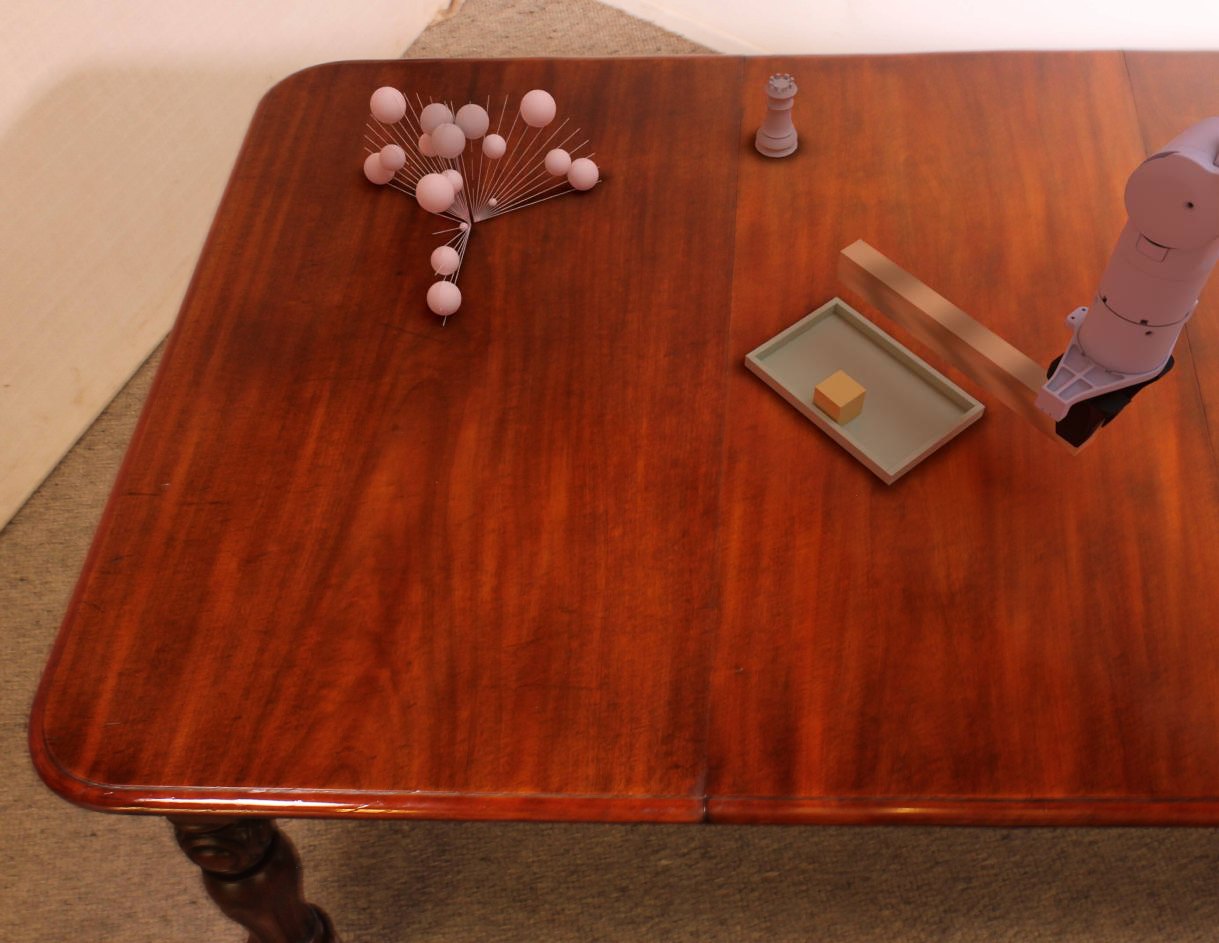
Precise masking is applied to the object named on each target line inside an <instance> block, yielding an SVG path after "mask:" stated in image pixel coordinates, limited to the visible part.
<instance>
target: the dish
mask: <svg viewBox="0 0 1219 943" xmlns="http://www.w3.org/2000/svg"><path fill="white" fill-rule="evenodd" d="M744 366H745V367H746V368H747V369H748V370H749V371H751V372H752V373H753V374H754V375H756V377H758V378H759V379H761V380H762V381H763V382H764V383H765V384H766V385H767V386H768V387H770V388H771V389H772V390H774V391H775V392H776V393H777V394H778V395H780V396H781V397H782V398H783V399H784V400H786V401H787V402H788V403H789V404H791V405H792V407H794V408H795V409H796V410H798V411H799V412H800V413H801V414H802V415H804V416H805V417H806V418H807V419H809V421H811V422H812V423H813V424H814V425H815V426H817V427H818V428H819V429H820V430H822V431H823V432H824V433H825V434H826V435H828V436H829V437H830V438H831V439H832V440H834V441H835V442H836V443H837V444H838V445H840V447H842V448H843V449H844V450H845V451H847V452H848V453H849V454H851V456H853V457H854V458H855V459H856V460H858V462H860V463H861V464H863V466H865V467H866V468H867V469H869V471H871V472H872V473H873V474H874V475H875V476H877V477H878V478H879V479H881V480H882V481H883V482H884V483H885V484H886V485H887V486H890V485H892V484H893V483H894V482H896V481H897V480H899V478H901V477H902V476H904V475H905V474H906V473H907V472H909V471H910V470H912V469H913V468H915V467H916V466H917V465H918V464H920V463H921V462H922V461H924V460H925V459H927V457H929V456H931V455H932V454H933V453H934V452H936V451H937V450H939V449H940V448H941V447H943V446H944V445H945V444H947V443H948V442H949V441H951V440H953V438H954V437H956V436H958V435H959V434H960V433H961V432H963V431H964V430H965V429H966V428H968V427H969V426H971V425H972V424H974V423H975V422H976V421H977V420H979V419H980V418H981V417H982V416H983V414H984V411H985V408H986V406H985V405H983V404H982V403H981V402H979V401H978V400H977V399H976V398H975V397H973V396H971V395H970V394H969V393H967V392H966V391H965V390H964V389H962V388H961V387H959V386H958V385H957V384H955V383H954V382H953V381H951V380H950V379H948V378H947V377H946V376H945V375H943V374H942V373H941V372H939V371H938V370H937V369H935V368H934V367H932V366H931V365H930V364H929V363H927V362H926V361H924V360H923V359H922V358H920V357H919V356H917V354H915V353H914V352H912V351H911V350H910V349H908V348H907V347H905V346H904V345H903V344H901V343H900V342H898V341H897V340H896V339H895V338H893V337H892V336H891V335H889V334H888V333H887V332H886V331H884V330H882V329H881V328H880V327H878V326H877V325H876V324H874V323H873V322H871V320H869V319H867V318H866V317H865V316H864V315H862V314H860V313H859V312H858V311H857V310H856V309H854V307H851V306H850V305H849V304H847V303H846V302H845V301H843V300H842V299H841V298H839V297H838V296H835V297H834V298H832V299H831V300H828V302H826V303H824V304H823V305H821V306H819V307H818V308H816V309H815V310H814V311H812V312H810V313H809V314H808V315H806V316H805V317H803V318H801V319H800V320H797V322H795V323H794V324H791V326H789V327H788V328H786V329H785V330H783V331H782V332H780V333H778V334H777V335H775V336H774V337H772V338H770V339H769V340H767V341H766V342H764V343H763V344H761V345H759V346H758V347H756V348H754V349H753V350H752V351H750V352H749V353H747V354H745V357H744ZM839 370H842V371H843V372H844V373H845V374H847V375H848V376H849V377H851V378H852V379H853V380H854V381H856V382H857V383H858V384H859V385H861V386H862V387H863V388H865V389H866V394H865V398H864V403H863V408H862V412H861V413H860V414H859V415H858V416H856V417H855V418H853V419H852V420H850V421H849V422H848V423H846V424H845V425H843V426H842V427H840V426H839V425H838V424H837V423H835V422H834V421H833V420H832V419H831V418H829V417H828V416H827V415H826V414H824V413H823V412H822V411H821V410H820V409H818V408H817V407H816V406H815V405H813V404H812V403H813V397H814V390H815V387H816V386H817V385H819V384H820V383H821V382H823V381H824V380H826V379H827V378H829V377H830V376H832V375H833V374H835V373H836V372H838V371H839Z"/></svg>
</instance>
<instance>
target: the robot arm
mask: <svg viewBox="0 0 1219 943" xmlns="http://www.w3.org/2000/svg"><path fill="white" fill-rule="evenodd" d="M1123 197H1124V200H1123V201H1124V206H1125V210H1126V214H1127V216H1128V218H1127V220H1126V222H1125V224H1124V225H1123V227H1122V229H1121V232H1120V234H1119V236H1118V238H1117V241H1116V243H1115V245H1114V248H1113V250H1112V253H1111V255H1110V256H1109V260H1108V262H1107V264H1106V266H1105V268H1104V271H1103V274H1102V276H1101V278H1100V281H1099V283H1098V285H1097V287H1096V290H1095V293H1094V296H1093V298H1092V300H1091V302H1090V304H1089V306H1082V305H1081V306H1079V307H1077V308H1075V309H1074V310H1073V311H1072V312H1070V313H1069V314H1068V315H1067V316H1066V317H1065V320H1064V326H1065V327H1066V328H1067V329H1068V330H1070V331H1071V332H1072V337H1071V339H1070V341H1069V343H1068V345H1067V347H1066V349H1065V350H1064V352H1063V353H1061V354H1060V355H1058V356H1057V357H1055V358H1054V359H1053V360H1052V361H1051V362H1050V364H1049V366H1048V368H1047V375H1046V376H1047V379H1048V382H1046V383H1045V384H1044V385H1043V386H1042V387H1041V389H1040V392H1039V394H1038V397H1037V399H1036V401H1035V404H1034V405H1035V406H1036V407H1037V408H1039V409H1040V410H1041V411H1042V412H1044V413H1045V414H1047V415H1048V416H1049V417H1051V418H1053V419H1054V420H1056V423H1055V432H1056V434H1057V435H1059V436H1060V437H1061V438H1063V439H1064V440H1066V441H1067V442H1068V443H1070V444H1071V445H1072V446H1074V447H1075V448H1078V447H1080V446H1081V445H1082V444H1083V443H1085V442H1086V441H1087V440H1088V439H1089V438H1090V437H1091V436H1092V435H1093V433H1094V432H1095V431H1096V430H1097V428H1098V427H1099V426H1100V424H1101V423H1102V422H1103V421H1104V420H1105V421H1104V423H1103V425H1102V427H1101V429H1103V428H1105V427H1106V426H1107V425H1109V424H1110V423H1111V422H1112V421H1113V420H1114V419H1115V418H1116V417H1118V415H1119V414H1120V413H1121V412H1122V411H1123V410H1124V409H1125V408H1126V406H1128V405H1130V403H1131V402H1132V400H1133V399H1134V398H1135V396H1136V395H1137V394H1139V393H1140V392H1141V391H1142V390H1143V389H1144V388H1146V387H1147V386H1149V385H1152V384H1153V383H1155V382H1158V381H1159V380H1160V379H1161V378H1163V377H1164V376H1165V375H1166V374H1168V373H1169V372H1170V371H1171V370H1172V369H1173V368H1174V366H1175V363H1176V362H1175V358H1174V356H1173V355H1172V353H1173V350H1174V348H1175V345H1176V342H1177V340H1178V338H1179V336H1180V333H1181V331H1182V328H1183V326H1184V324H1186V323H1188V322H1189V320H1190V318H1191V317H1192V315H1193V313H1194V312H1195V310H1196V308H1197V306H1198V304H1199V301H1200V300H1199V299H1198V298H1199V296H1200V294H1201V292H1203V291H1202V290H1203V288H1204V287H1205V285H1206V283H1207V281H1208V279H1209V277H1210V275H1211V273H1212V272H1213V270H1214V268H1215V266H1216V265H1217V262H1218V261H1219V115H1216V116H1209V117H1205V118H1202V119H1199V120H1196V121H1195V122H1194V123H1192V124H1190V125H1189V126H1188V127H1187V128H1185V129H1184V130H1182V131H1181V132H1180V133H1179V134H1177V135H1176V136H1175V137H1173V139H1170V141H1168V142H1167V143H1166V144H1165V145H1163V146H1161V147H1160V148H1159V149H1158V150H1156V151H1155V152H1154V153H1153V154H1151V155H1150V156H1148V158H1146V159H1145V160H1144V161H1142V162H1141V163H1140V164H1139V165H1138V167H1137V168H1136V169H1135V170H1134V171H1133V172H1132V173H1131V175H1130V176H1129V177H1128V179H1127V182H1126V184H1125V187H1124V196H1123Z"/></svg>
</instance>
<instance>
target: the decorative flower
mask: <svg viewBox="0 0 1219 943" xmlns="http://www.w3.org/2000/svg"><path fill="white" fill-rule="evenodd" d="M415 94H416V96H417V99H418V101H419V104H420V107H421V109H422V112H421V113H420V118H418V117H417V114H416V113H415V111H414V109H413V107H412V105H411V103H410V102H409V99H408V97H407V95H406V93H405V92H403V93H402V92H400V91H399V90H398V89H396V88H394V87H392V86H382V87H380V88H378V89H376V90H375V91H374V92H373V93H372V95H371V97H370V100H369V106H370V111H371V113H369V115H370V116H371V117H372V118H373V119H374V121H376V122H380V123H378V125H379V126H380V127H381V128H382V130H384V132H385V133H386V134H389V132H388V131H387V130H386V129H385V128H384V127H383V126H382V125H381V123H383V124H388V125H390V126H391V127H392V129H394V130H395V132H396V133H397V134H398V136H399V137H400V138H401V139H402V141H404V143H405V145H407V147H408V148H409V150H410V151H412V153H413V154H414V156H416V158H417V159H418V160H419V162H420V163H421V165H422V166H423V167H424V168H425V170H426V171H427V172H428V173H427V174H426V173H425V171H423V170H421V172H422V173H423V174H424V176H422V175H421V174H420V173H419V172H418V171H417V170H416V169H415V168H414V167H412V169H413V170H414V172H416V174H418V175H419V176H420V177H421V178H420V179H418V178H417V177H416V176H414V175H413V174H412V173H411V172H410V171H409V170H407V169H406V168H405V167H404V166H405V164H406V163H407V164H408V162H407V161H406V160H407V159H406V155H407V156H408V158H410V160H411V161H412V162H413V163H414V164H415V165H416V166H417V167H418V168H419V169H421V167H420V166H419V165H418V164H417V163H416V162H415V161H414V160H413V159H412V158H411V157H410V155H409V154H408V153H407V152H406V151H405V150H404V149H403V147H402V146H400V144H399V143H398V142H397V141H396V139H394V138H393V137H392V136H391V135H389V137H390V138H391V139H392V140H393V141H394V142H395V143H396V144H397V145H396V144H393V143H392V144H386V145H385V146H383V147H382V148H381V147H380V146H379V145H377V144H376V143H375V142H374V141H372V140H371V139H370V138H369V137H368V136H366V135H365V134H364V135H363V136H365V137H366V138H367V139H368V140H369V141H370V142H372V143H373V144H374V145H376V146H377V147H378V148H379V149H380V152H374V153H373V152H372V151H370V149H368V148H366V147H365V146H364V147H363V148H364V149H365V150H367V151H368V152H370V153H371V154H369V155H368V157H366V159H365V161H364V163H363V172H364V175H365V177H366V178H367V179H368V180H369V181H370V182H371V183H372V184H375V185H385V184H388V185H389V186H391V187H393V188H396V189H398V190H400V191H403V192H404V193H406V194H409V195H410V196H412V197H415V198H416V200H417V202H418V204H419V206H420V207H421V208H422V209H424V210H425V211H426V212H430V213H432V214H435V215H438V216H441V217H444V218H447V219H450V220H453V221H456V222H459V223H460V224H459V227H456V228H452V229H449V230H447V229H446V230H443V231H438V232H433V235H436V234H440V233H445V232H449V231H453V230H458V229H460V231H461V232H460V233H458V234H457V235H456V236H455V237H453V239H451V240H450V241H449V242H447V243H446V244H445V245H442V246H438V247H436V249H434V251H432V254H431V256H430V265H431V267H432V269H433V270H434V271H435V274H434V276H436V275H437V274H439V275H442V276H444V278H443V280H440V281H437V282H435V283H433V284H432V285H431V286H430V288H428V291H427V293H426V302H427V305H428V307H429V308H430V310H431V311H432V312H433V313H435V314H437V315H438V316H445V317H444V320H443V324H442V326H443V327H444V326H445V322H446V318H447V316H451V315H452V314H453V315H454V313H456V312H457V311H458V310H459V309H460V306H461V304H462V294H461V291H460V289H459V288H458V286H456V282H457V278H458V275H459V271H460V267H461V264H462V260H463V256H464V253H465V250H466V247H467V246H466V245H467V242H468V239H469V234H470V232H471V227H472V223H471V222H472V221H471V218H470V213H469V207H468V202H467V198H466V197H467V196H466V193H465V188H464V180H463V176H462V172H461V166H460V163H459V162H460V161H459V156H461V160H462V167H463V171H464V172H463V173H464V176H465V181H466V186H467V191H468V192H467V193H468V197H469V198H471V195H470V190H469V184H468V180H467V175H466V170H465V164H464V159H463V154H462V153H463V152H464V150H465V148H466V139H469V140H470V144H471V145H470V146H471V148H470V150H471V151H473V140H478V139H479V138H482V137H483V141H482V144H481V145H482V146H481V147H482V150H481V155H485V156H486V157H488V158H489V164H488V167H487V172H486V175H485V178H484V182H483V187H482V190H481V194H480V199H479V201H478V200H476V202H475V195H474V192H475V191H474V189H472V199H473V201H472V200H471V199H469V202H470V207H471V213H472V217H473V223H477V222H480V221H483V220H486V219H489V218H492V217H496V216H499V215H502V214H504V213H508V212H511V211H515V210H517V209H520V208H524V207H526V206H529V205H533V204H535V203H538V202H542V201H545V200H548V199H551V198H554V197H557V196H561V195H563V194H566V193H570V192H572V191H576V190H578V191H587V190H590V189H592V188H593V187H594V186H596V184H597V183H599V182H601V180H599V169H598V168H600V166H597V164H595V162H594V161H592V160H591V159H589V157H592V156H593V155H595V154H596V152H594V153H592V154H591V155H588V156H587V157H580V158H576V159H575V160H573V161H572V159H571V156H570V155H571V154H572V153H573V152H575V151H577V150H578V149H579V148H580V147H582V146H583V145H585V144H586V143H587V142H589V141H590V140H589V139H587V140H586V141H585V142H583V143H582V144H581V145H580V146H578V147H577V148H575V149H574V150H573V151H571V152H569V153H568V152H567V151H566V150H564V149H562V148H560V147H561V146H562V145H564V143H566V141H568V140H569V139H571V137H573V135H574V134H576V133H577V132H578V131H579V130H580V129H581V128H578V129H577V130H575V131H574V132H573V134H571V135H570V136H569V137H568V138H567V139H565V140H564V142H562V143H561V144H560V145H559V146H558V147H556V148H554V149H552V150H549V151H548V153H547V154H546V155H545V158H544V159H543V160H542V161H541V162H539V164H538V165H537V166H535V167H534V168H533V169H532V170H531V171H530V172H529V173H528V174H526V175H525V176H524V177H523V178H522V179H520V180H519V182H517V183H516V184H515V185H514V186H513V187H512V188H511V189H510V190H508V191H507V192H506V193H505V194H504V195H503V196H502V197H501V198H500V199H498V200H497V198H499V196H500V195H502V193H503V192H504V191H505V190H506V188H507V187H509V185H510V184H512V182H513V181H514V179H516V177H518V175H519V174H520V173H521V172H522V171H523V170H524V169H525V168H526V166H527V165H528V164H530V162H531V161H532V160H533V159H534V158H535V157H536V155H538V153H540V151H541V150H542V149H543V148H544V147H545V146H546V144H547V143H548V142H549V141H550V140H551V139H552V138H553V137H554V136H555V135H556V133H558V131H559V130H560V129H561V128H562V127H563V126H564V125H565V124H566V122H567V121H568V120H570V118H569V117H568V118H567V119H566V120H565V122H564V123H562V124H561V126H560V127H559V128H558V129H557V130H556V131H555V133H553V134H552V136H551V137H550V138H549V139H548V140H547V141H546V142H545V144H543V145H542V146H541V148H540V149H539V150H538V151H537V152H536V153H535V155H534V156H533V157H532V158H531V159H530V160H529V161H528V162H527V163H526V165H525V166H523V168H522V169H520V171H519V172H518V173H517V174H516V175H515V177H514V178H513V179H512V180H510V182H509V183H508V184H507V185H506V186H505V188H503V190H502V191H501V192H500V193H499V194H498V195H497V197H495V195H496V194H497V192H498V191H499V189H500V188H501V187H502V185H503V184H504V183H505V181H506V180H507V178H508V177H509V176H510V174H511V173H512V172H513V170H514V169H515V167H516V166H517V165H518V163H520V161H521V159H522V158H523V156H524V155H525V153H526V152H527V151H528V149H529V148H530V146H532V144H533V142H534V141H535V140H536V138H537V137H538V136H539V134H540V133H541V132H542V130H543V129H544V127H547V126H548V125H549V124H551V123H552V121H553V120H554V118H555V116H556V114H557V113H556V112H557V106H556V102H555V99H554V98H553V96H552V95H551V94H550V93H549V92H547V91H545V90H542V89H534V90H530V91H528V92H527V93H526V94H525V95H524V96H523V97H522V99H521V101H520V107H519V110H518V113H517V115H516V118H515V121H514V123H513V125H512V128H511V130H510V132H509V135H508V137H507V139H506V140H505V139H504V138H503V137H502V136H501V135H499V131H500V128H501V123H502V120H503V115H504V112H505V108H506V104H507V100H508V96H509V95H508V94H507V95H506V98H505V102H504V105H503V109H502V114H501V117H500V121H499V125H498V129H497V132H496V133H491V134H489V135H487V136H486V133H487V131H488V130H489V127H490V118H489V115H488V110H489V104H487V106H486V110H485V109H484V108H483V107H481V106H480V105H479V104H474V103H471V102H469V104H465V105H463V106H462V107H461V108H459V109H458V111H457V113H456V115H455V113H454V112H455V111H454V107H453V103H452V101H450V104H451V109H450V108H449V107H448V106H449V105H448V104H447V103H446V102H444V104H445V105H444V104H442V103H439V102H438V103H437V102H435V103H433V100H432V96H429V99H430V102H431V104H428V105H427V106H425V107H424V108H423V105H422V103H421V100H420V97H419V96H418V93H417V92H416V93H415ZM406 101H407V102H408V105H409V106H410V109H411V111H412V112H413V115H414V116H415V118H416V120H417V123H418V125H419V127H420V128H421V131H422V132H423V134H422V135H421V136H420V137H419V135H418V134H417V132H416V130H415V129H414V127H413V126H412V124H411V122H410V120H409V119H408V117H407V115H406V110H407V102H406ZM489 101H490V96H488V98H487V103H489ZM451 110H452V111H451ZM519 114H520V115H521V117H522V119H523V120H524V122H525V123H526V125H527V126H526V128H525V131H524V132H523V133H522V135H521V137H520V139H519V141H518V143H517V145H516V146H515V148H514V150H513V152H512V154H511V155H510V157H509V159H508V160H507V162H506V164H505V166H504V168H503V169H502V171H501V173H500V175H499V176H498V179H497V181H496V182H495V184H494V186H493V187H492V189H491V191H490V192H489V195H488V196H487V198H486V195H487V192H488V191H489V188H490V186H491V182H492V181H493V178H494V176H495V173H496V171H497V168H498V166H499V164H500V161H501V159H502V157H503V156H504V155H505V153H506V150H507V144H508V142H509V139H510V137H511V134H512V132H513V129H514V127H515V124H516V122H517V119H518V118H519ZM404 116H405V119H406V120H407V121H408V123H409V125H410V127H411V128H412V130H413V131H414V133H415V135H416V136H417V139H418V146H417V144H415V141H414V140H413V139H412V138H411V136H410V134H408V132H407V130H406V129H405V127H404V126H403V124H402V123H401V122H400V121H401V120H402V118H404ZM419 119H420V120H419ZM395 123H399V125H400V126H401V127H402V129H403V130H404V131H405V133H406V135H407V136H408V137H409V139H410V140H411V141H412V143H413V144H414V146H415V147H416V148H417V150H418V152H419V153H420V155H421V157H423V159H424V160H425V162H426V164H428V166H429V168H430V169H431V170H432V172H433V173H431V172H430V171H429V169H428V168H427V167H426V166H425V164H424V163H423V161H421V159H420V158H419V157H418V156H417V155H416V153H415V152H414V151H413V149H412V148H411V147H410V146H409V145H408V143H407V142H406V141H405V140H404V138H403V137H402V136H401V135H400V133H399V132H398V131H397V129H396V128H395V127H394V126H393V125H392V124H395ZM366 126H367V127H369V128H370V129H371V130H372V131H373V132H374V133H375V134H376V135H377V136H379V138H380V139H381V140H382V141H383V142H385V139H383V138H382V137H381V136H380V135H379V134H378V133H377V132H376V131H375V130H374V129H373V128H372V127H371V126H370V125H369V124H368V123H366ZM529 126H530V127H533V128H541V129H540V130H539V132H538V133H537V134H536V135H535V137H534V139H533V140H532V141H531V143H530V144H529V146H528V147H527V148H526V149H525V151H524V152H523V154H522V155H521V157H520V158H519V159H518V161H517V162H516V163H515V164H514V166H513V168H512V169H511V171H509V173H508V174H507V175H506V177H505V179H504V180H503V181H502V182H501V184H500V185H499V187H498V188H497V190H496V191H495V193H494V194H493V195H492V197H491V198H489V197H490V196H491V194H492V193H493V190H494V188H495V187H496V185H497V183H498V181H499V179H500V178H501V176H502V174H503V173H504V172H505V169H506V167H507V165H508V164H509V162H510V160H511V158H512V156H513V155H514V153H515V151H516V150H517V148H518V146H519V144H520V142H521V141H522V139H523V137H524V135H525V133H526V131H527V130H528V128H529ZM483 153H484V154H483ZM437 156H438V157H439V159H438V157H437ZM425 157H429V158H430V160H431V161H432V164H433V165H434V167H435V168H436V170H437V171H436V170H434V169H433V168H432V166H431V165H430V163H429V162H428V160H427V159H426V158H425ZM433 157H436V160H437V162H438V164H439V166H440V168H441V170H442V172H440V171H439V169H438V168H437V165H436V164H435V162H434V161H433V159H432V158H433ZM441 158H442V159H441ZM445 159H447V161H448V163H449V166H450V168H449V169H448V165H447V164H446V161H445ZM451 159H453V163H454V166H455V169H456V170H455V169H453V165H452V162H451ZM492 159H493V160H497V159H498V162H497V164H496V167H495V170H494V172H493V175H492V177H491V179H490V181H489V184H488V187H487V189H486V192H485V195H484V197H483V199H482V196H483V192H484V189H485V185H486V180H487V178H488V173H489V169H490V165H491V162H492ZM482 161H483V157H481V159H480V164H482ZM440 162H441V163H440ZM443 162H444V163H443ZM473 162H474V161H473V160H471V172H472V173H471V174H472V175H471V176H472V179H474V166H473ZM542 163H544V167H545V169H546V170H545V171H543V172H542V173H541V174H539V175H538V176H536V177H535V178H533V179H532V180H530V181H529V182H528V183H526V184H525V185H523V186H522V187H521V188H520V189H518V190H517V191H515V192H513V193H512V194H511V195H510V196H508V197H506V198H505V199H504V200H503V201H501V202H500V200H501V199H503V198H504V197H505V196H506V195H507V194H508V193H509V192H510V191H512V190H513V189H514V188H516V187H517V186H518V184H519V183H521V182H523V180H524V179H525V178H527V177H528V175H530V174H531V173H532V172H534V170H535V169H536V168H537V167H539V166H540V165H541V164H542ZM441 164H442V165H441ZM443 168H444V169H443ZM401 169H404V171H407V172H408V174H410V175H411V176H413V177H414V178H415V179H416V180H417V181H418V182H417V183H416V182H414V181H413V180H411V179H410V178H408V177H407V176H406V175H405V174H402V172H400V170H401ZM481 170H482V165H480V168H479V172H481ZM396 172H397V173H399V174H400V175H402V176H403V177H404V178H406V179H408V180H409V181H410V182H412V183H413V184H414V185H416V188H414V187H411V186H410V185H408V184H406V183H405V182H403V181H402V180H400V179H398V178H396V177H395V174H396ZM547 172H548V173H549V174H550V175H552V177H550V178H548V179H546V180H545V181H543V182H541V183H540V184H538V185H536V186H534V187H532V188H531V189H529V190H527V191H526V192H524V193H522V194H520V195H519V196H517V197H515V198H514V199H512V200H509V201H508V202H507V203H505V204H503V205H501V204H502V203H504V202H505V201H507V200H508V199H509V198H511V197H512V196H514V195H515V194H516V193H518V192H519V191H520V190H522V189H523V188H525V187H526V186H528V185H529V184H530V183H532V182H533V181H534V180H536V179H537V178H538V177H540V176H541V175H543V174H545V173H547ZM565 174H566V175H567V180H566V181H563V182H561V183H558V184H556V185H554V186H552V187H550V188H548V189H545V190H543V191H540V192H538V193H537V194H534V195H533V196H529V197H527V198H525V199H523V200H520V201H518V202H516V203H514V204H511V205H509V206H506V205H507V204H509V203H511V202H513V201H515V200H516V199H518V198H520V197H522V196H524V195H525V194H527V193H529V192H531V191H532V190H534V189H535V188H537V187H540V186H541V185H543V184H544V183H546V182H548V181H550V180H551V179H553V178H555V177H562V176H564V175H565ZM392 179H395V180H397V181H399V182H400V183H401V184H403V185H405V186H407V187H409V188H410V189H412V190H414V191H415V195H414V194H412V193H410V192H407V191H405V190H403V189H401V188H399V187H397V186H395V185H392V184H391V183H389V182H390V181H391V180H392ZM480 180H481V174H479V175H478V181H480ZM567 182H569V184H570V185H571V186H572V187H573V189H571V190H568V191H565V192H561V193H559V194H555V195H553V196H549V197H546V198H543V199H540V200H537V201H534V202H531V203H528V204H524V205H521V206H519V207H516V208H513V209H509V210H506V209H508V208H511V207H512V206H515V205H517V204H519V203H521V202H524V201H527V200H528V199H531V198H532V197H533V198H534V197H535V196H537V195H540V194H542V193H545V192H547V191H549V190H551V189H553V188H555V187H558V186H560V185H562V184H565V183H567ZM477 185H478V186H477V190H479V187H480V183H478V184H477ZM461 193H462V194H461ZM478 196H479V191H477V193H476V198H478ZM494 197H495V198H494ZM485 198H486V200H485ZM481 199H482V202H481ZM484 201H485V202H484ZM487 201H488V202H487ZM498 202H500V203H499V204H498ZM472 203H473V204H472ZM475 203H476V204H475ZM480 203H481V204H480ZM483 203H484V204H483ZM498 206H499V207H498ZM504 206H506V207H505V208H503V209H500V208H502V207H504ZM475 207H477V208H476V209H473V208H475ZM491 207H492V208H491ZM495 208H496V209H495ZM499 209H500V210H499ZM497 210H498V211H497ZM503 210H506V211H503ZM502 211H503V212H502ZM442 212H447V213H448V214H450V215H453V216H454V217H457V218H459V219H460V220H458V219H455V218H451V217H449V216H445V215H442V214H440V213H442ZM499 212H500V213H499ZM461 220H464V221H465V222H463V221H461ZM463 233H464V234H463ZM461 234H463V235H462V236H461V238H460V239H459V241H458V242H457V244H455V246H454V247H451V246H447V245H448V244H450V243H452V242H453V241H454V240H455V239H456V238H457V237H459V236H460V235H461ZM462 239H463V240H462ZM461 241H462V242H461ZM460 242H461V243H460ZM459 243H460V246H459V248H458V249H457V251H456V248H457V246H458V245H459ZM461 247H462V248H461ZM460 249H461V251H460ZM459 251H460V254H459ZM461 254H462V255H461ZM460 258H461V259H460ZM456 271H457V273H456V277H455V281H454V283H453V282H452V280H453V277H454V274H455V272H456ZM449 275H452V276H451V278H450V281H447V280H445V279H446V278H447V276H449Z"/></svg>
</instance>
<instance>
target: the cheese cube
mask: <svg viewBox="0 0 1219 943" xmlns="http://www.w3.org/2000/svg"><path fill="white" fill-rule="evenodd" d="M865 394H866V389H865V388H863V387H862V386H861V385H859V384H858V383H857V382H856V381H854V380H853V379H852V378H851V377H849V376H848V375H847V374H845V373H844V372H843V371H842V370H839V371H838V372H836V373H835V374H833V375H832V376H830V377H829V378H827V379H826V380H824V381H823V382H821V383H820V384H819V385H817V386H816V387H815V390H814V397H813V403H812V404H813V405H815V406H816V407H817V408H818V409H820V410H821V411H822V412H823V413H824V414H826V415H827V416H828V417H829V418H831V419H832V420H833V421H834V422H835V423H837V424H838V425H839V426H840V427H842V426H843V425H845V424H846V423H848V422H849V421H850V420H852V419H853V418H855V417H856V416H858V415H859V414H860V413H861V412H862V408H863V403H864V398H865Z"/></svg>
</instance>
